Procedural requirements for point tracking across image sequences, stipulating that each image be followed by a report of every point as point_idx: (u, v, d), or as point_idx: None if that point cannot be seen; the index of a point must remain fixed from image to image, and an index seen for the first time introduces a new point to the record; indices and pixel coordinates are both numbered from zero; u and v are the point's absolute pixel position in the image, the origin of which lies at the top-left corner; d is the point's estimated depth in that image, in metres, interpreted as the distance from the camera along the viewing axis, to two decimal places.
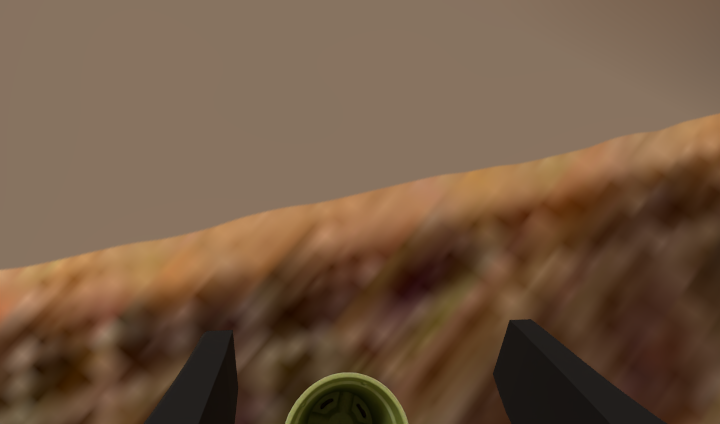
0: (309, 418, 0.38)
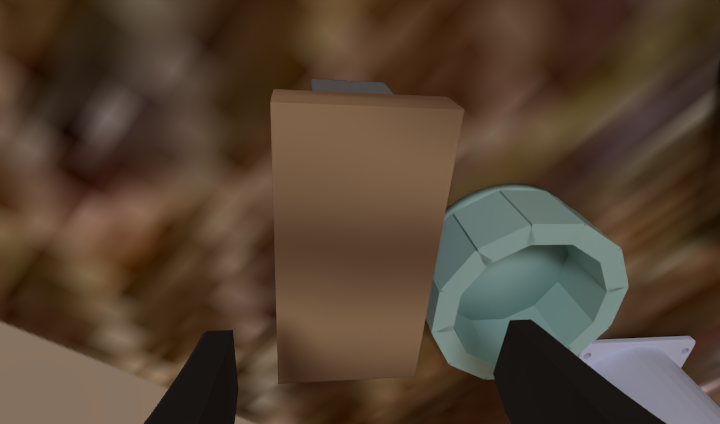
0: None
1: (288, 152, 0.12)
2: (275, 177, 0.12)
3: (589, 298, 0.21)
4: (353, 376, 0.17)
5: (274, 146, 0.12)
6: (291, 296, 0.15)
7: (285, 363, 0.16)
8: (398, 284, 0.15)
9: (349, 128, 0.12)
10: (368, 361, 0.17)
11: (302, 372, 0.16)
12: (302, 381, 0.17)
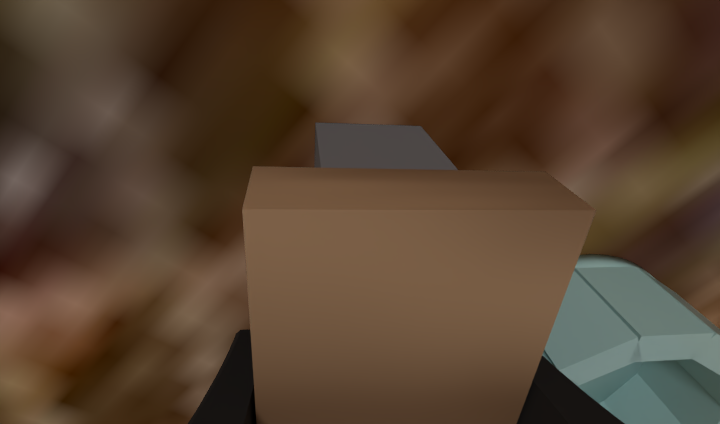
0: None
1: (277, 288, 0.07)
2: (255, 327, 0.07)
3: (692, 411, 0.15)
4: None
5: (252, 280, 0.07)
6: None
7: None
8: None
9: (389, 247, 0.07)
10: None
11: None
12: None
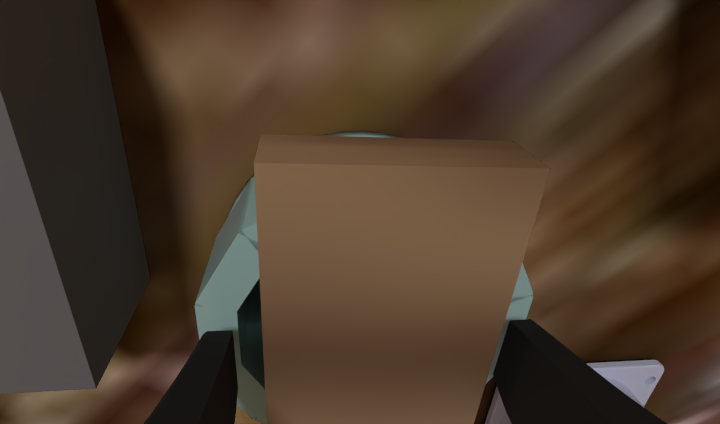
0: None
1: (281, 233, 0.08)
2: (263, 268, 0.08)
3: None
4: None
5: (261, 226, 0.08)
6: (287, 417, 0.10)
7: None
8: (437, 396, 0.11)
9: (376, 198, 0.08)
10: None
11: None
12: None
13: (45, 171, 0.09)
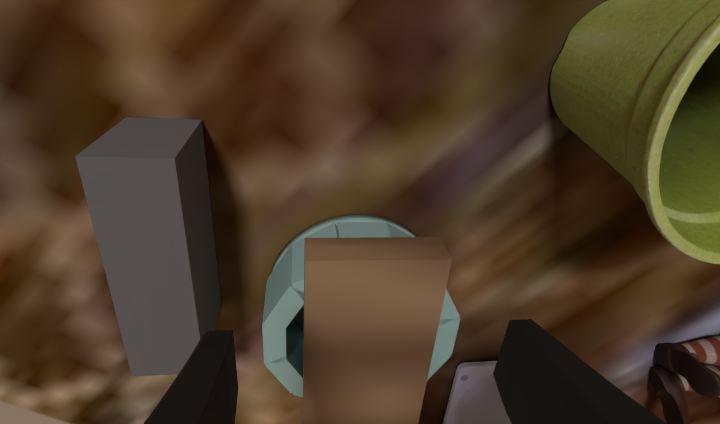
0: (568, 47, 0.18)
1: (316, 292, 0.16)
2: (306, 309, 0.16)
3: None
4: None
5: (306, 289, 0.16)
6: (315, 388, 0.18)
7: None
8: (401, 377, 0.19)
9: (364, 275, 0.16)
10: None
11: None
12: None
13: (193, 258, 0.16)
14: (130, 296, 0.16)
